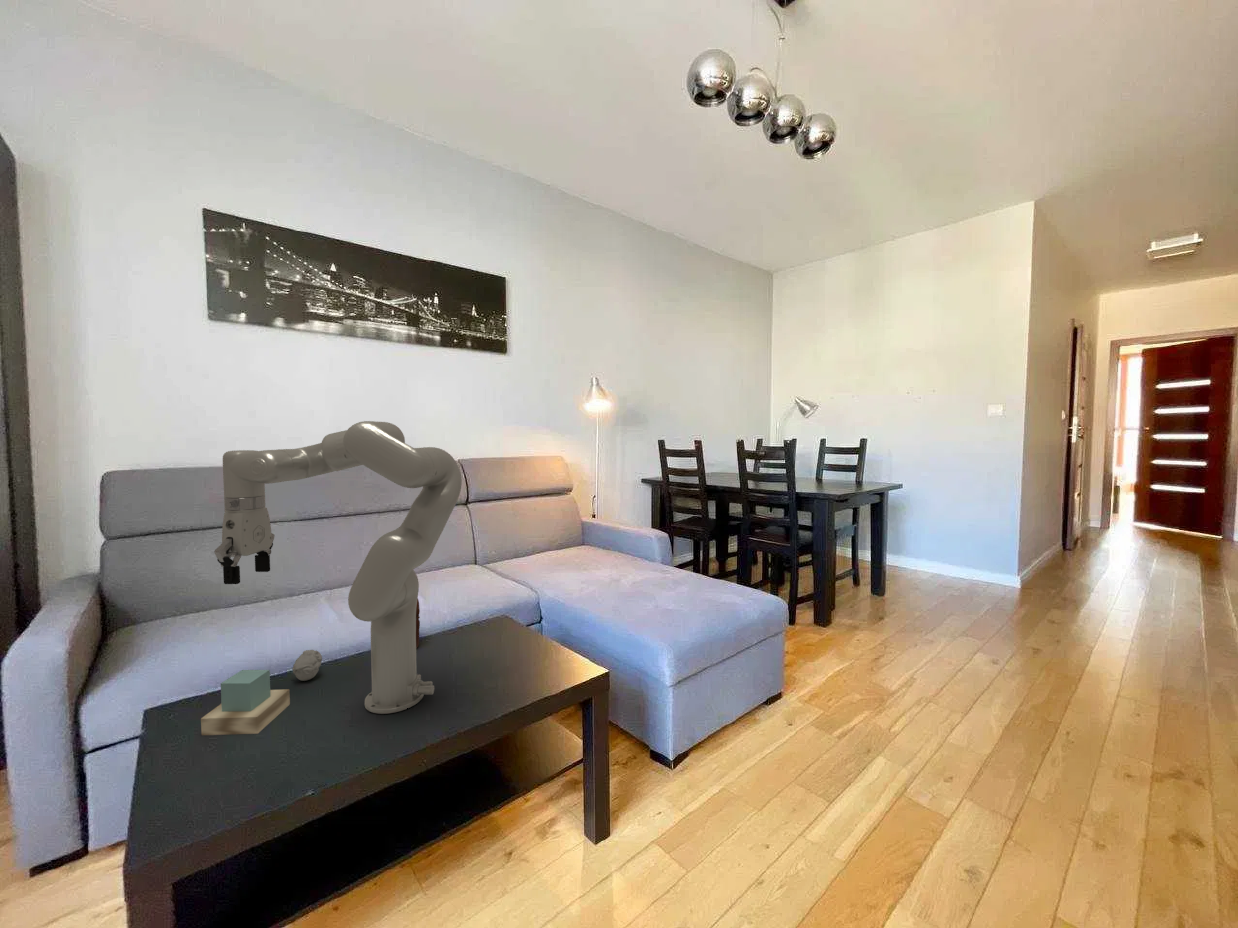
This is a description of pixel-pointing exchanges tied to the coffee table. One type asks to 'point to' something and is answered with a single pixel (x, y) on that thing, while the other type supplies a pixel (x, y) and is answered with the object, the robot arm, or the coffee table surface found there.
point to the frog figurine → (307, 665)
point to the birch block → (245, 716)
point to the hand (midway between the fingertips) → (248, 577)
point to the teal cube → (245, 690)
